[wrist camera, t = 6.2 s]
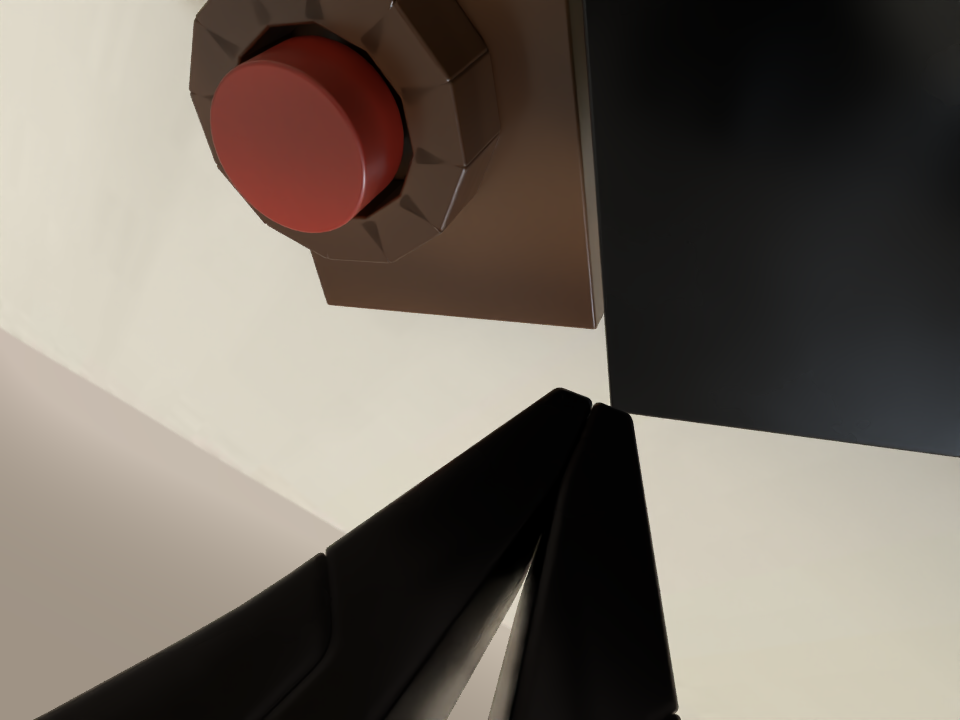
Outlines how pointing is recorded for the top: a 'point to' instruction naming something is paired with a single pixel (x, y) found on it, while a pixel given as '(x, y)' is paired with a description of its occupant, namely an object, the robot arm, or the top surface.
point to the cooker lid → (781, 214)
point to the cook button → (307, 132)
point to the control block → (450, 153)
